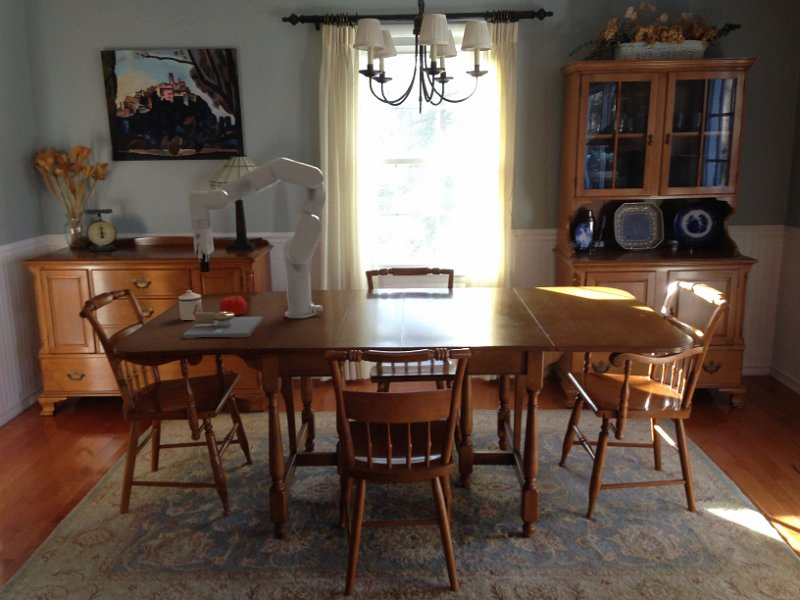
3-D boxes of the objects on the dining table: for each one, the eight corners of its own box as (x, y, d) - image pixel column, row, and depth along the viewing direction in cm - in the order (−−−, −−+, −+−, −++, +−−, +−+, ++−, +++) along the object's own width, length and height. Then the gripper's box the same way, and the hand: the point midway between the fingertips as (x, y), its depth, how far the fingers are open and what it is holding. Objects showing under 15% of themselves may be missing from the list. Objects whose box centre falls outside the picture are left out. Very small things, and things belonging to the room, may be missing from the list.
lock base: (262, 320, 269) (261, 310, 268) (248, 337, 245) (247, 326, 244) (202, 321, 269) (201, 311, 268) (183, 338, 246) (182, 327, 245)
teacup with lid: (197, 321, 270) (194, 292, 267) (176, 321, 271) (173, 292, 268) (209, 313, 281) (207, 286, 279) (189, 313, 283) (186, 286, 280)
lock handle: (237, 319, 261) (236, 309, 260) (231, 325, 253) (231, 314, 252) (199, 320, 261) (198, 310, 260) (193, 326, 253) (192, 315, 252)
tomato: (227, 311, 285) (225, 294, 283) (251, 311, 283) (250, 294, 281) (216, 317, 275) (214, 299, 273) (241, 318, 273) (239, 300, 271)
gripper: (205, 226, 248) (209, 275, 253) (216, 221, 263) (220, 268, 267) (185, 226, 249) (189, 275, 253) (197, 222, 263) (201, 268, 267)
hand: (205, 271), depth 260 cm, fingers closed
